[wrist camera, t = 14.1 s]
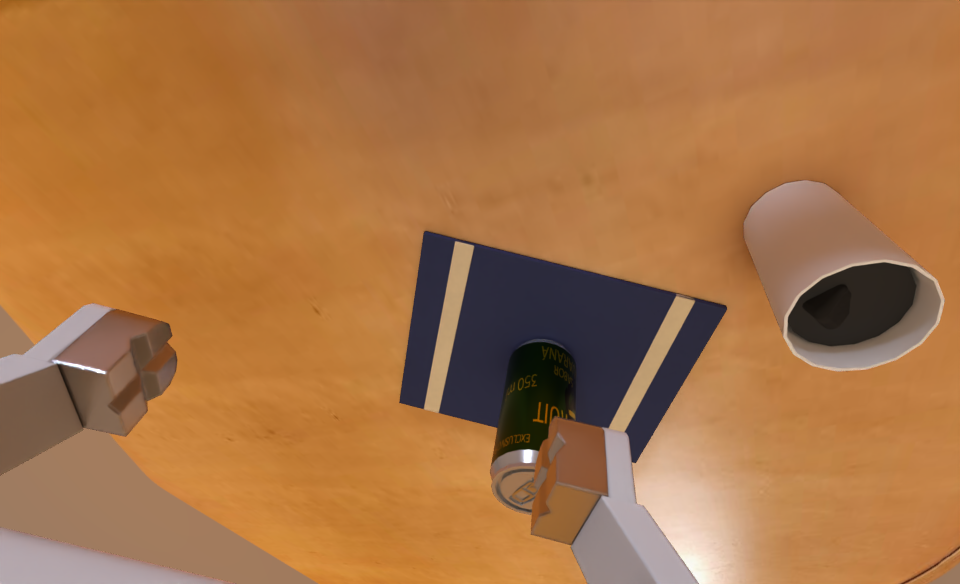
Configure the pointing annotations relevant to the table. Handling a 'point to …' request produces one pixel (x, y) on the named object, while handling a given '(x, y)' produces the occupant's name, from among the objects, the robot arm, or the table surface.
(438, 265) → the cloth
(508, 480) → the green drink can
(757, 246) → the white coffee cup
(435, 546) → the table surface
